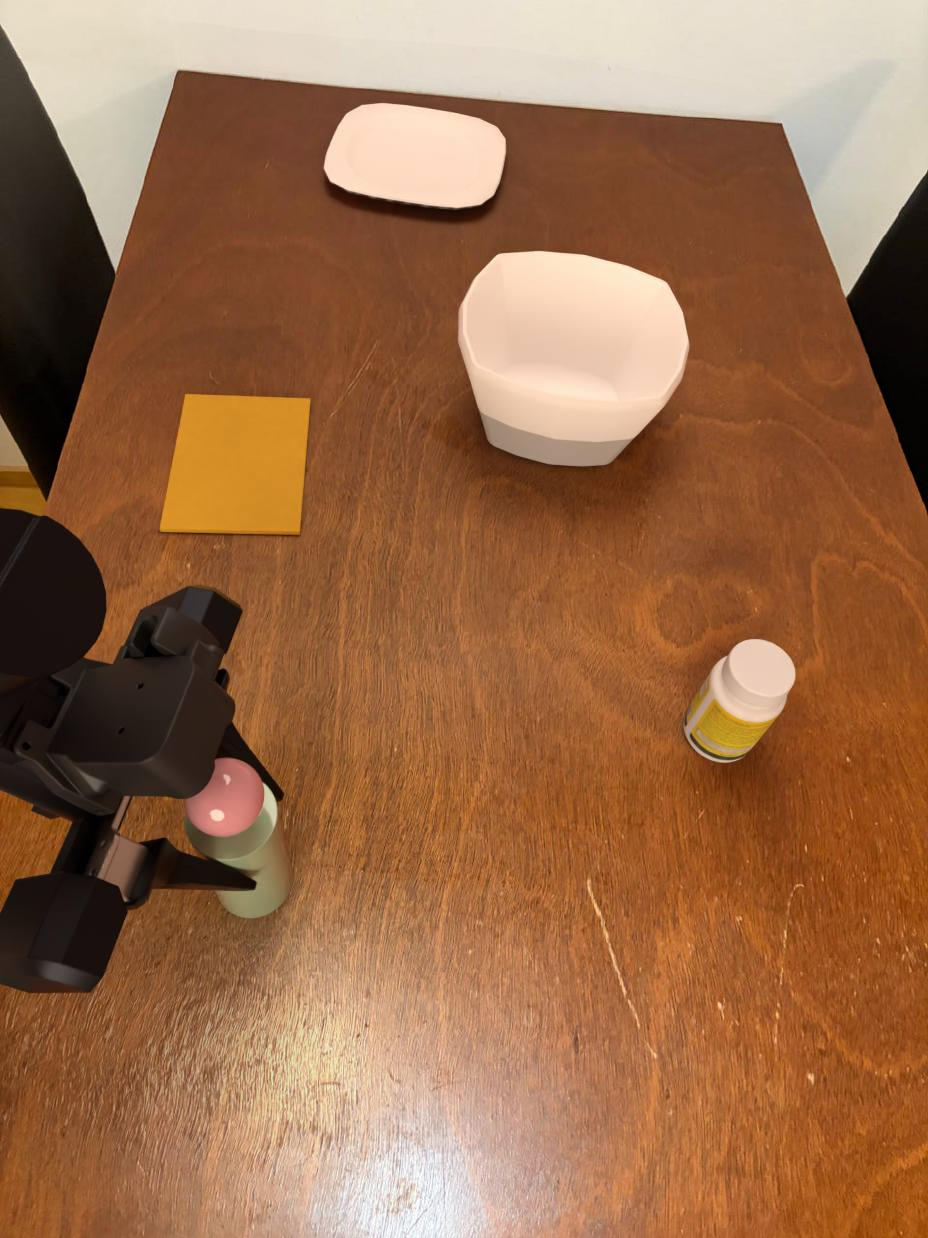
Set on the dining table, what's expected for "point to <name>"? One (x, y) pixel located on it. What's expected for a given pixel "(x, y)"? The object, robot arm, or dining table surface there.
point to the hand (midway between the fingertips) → (265, 842)
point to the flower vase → (241, 836)
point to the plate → (416, 156)
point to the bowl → (569, 354)
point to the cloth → (238, 466)
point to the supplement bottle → (739, 700)
